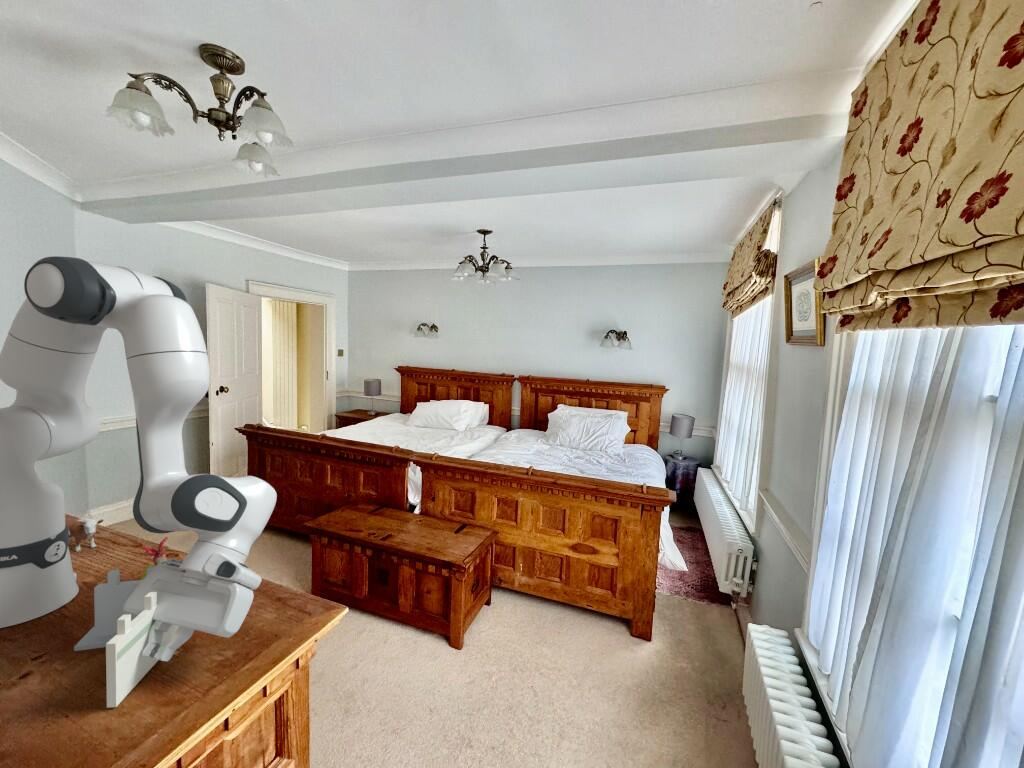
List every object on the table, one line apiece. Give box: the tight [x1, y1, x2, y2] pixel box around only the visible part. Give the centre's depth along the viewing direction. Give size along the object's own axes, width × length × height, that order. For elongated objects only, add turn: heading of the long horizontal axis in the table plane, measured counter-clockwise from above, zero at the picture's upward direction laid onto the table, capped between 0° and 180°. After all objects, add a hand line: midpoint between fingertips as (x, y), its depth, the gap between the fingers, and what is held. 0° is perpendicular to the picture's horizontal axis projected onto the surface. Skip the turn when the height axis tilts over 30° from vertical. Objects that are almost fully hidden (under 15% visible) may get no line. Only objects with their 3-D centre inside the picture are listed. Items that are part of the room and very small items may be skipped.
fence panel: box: [105, 592, 179, 708], centre depth 67 cm, size 18×2×12 cm, turn 9°
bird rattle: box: [139, 536, 169, 580], centre depth 86 cm, size 6×11×9 cm
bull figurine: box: [65, 517, 104, 553], centre depth 98 cm, size 4×13×8 cm, turn 79°
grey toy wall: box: [73, 566, 156, 652], centre depth 72 cm, size 13×5×12 cm, turn 109°
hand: (154, 658), depth 63 cm, fingers closed
